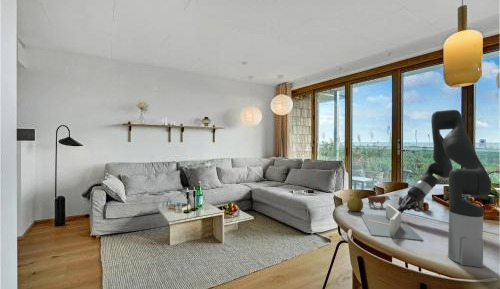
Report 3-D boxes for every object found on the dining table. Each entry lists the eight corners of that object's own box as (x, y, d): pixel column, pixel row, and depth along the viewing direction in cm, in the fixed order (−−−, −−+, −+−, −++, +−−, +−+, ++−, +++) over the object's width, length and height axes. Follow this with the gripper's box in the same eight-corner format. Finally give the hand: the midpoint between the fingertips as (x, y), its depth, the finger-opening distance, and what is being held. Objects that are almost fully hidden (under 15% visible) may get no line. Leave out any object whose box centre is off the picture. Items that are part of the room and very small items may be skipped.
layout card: (423, 241, 104) (423, 239, 104) (371, 235, 110) (371, 234, 110) (400, 217, 135) (400, 217, 135) (360, 214, 140) (360, 213, 140)
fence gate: (399, 225, 121) (399, 211, 121) (395, 224, 121) (395, 211, 121) (389, 216, 135) (389, 204, 135) (385, 216, 135) (385, 203, 135)
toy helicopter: (413, 210, 149) (414, 188, 149) (405, 202, 169) (405, 182, 168) (429, 211, 146) (430, 189, 146) (419, 203, 166) (419, 183, 165)
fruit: (344, 209, 150) (344, 190, 150) (355, 208, 153) (355, 189, 153) (354, 213, 142) (354, 193, 142) (366, 212, 145) (366, 192, 145)
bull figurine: (391, 208, 153) (391, 195, 153) (368, 207, 156) (368, 194, 156) (388, 206, 157) (388, 194, 157) (366, 205, 160) (366, 193, 160)
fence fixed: (396, 226, 121) (396, 211, 121) (401, 227, 120) (401, 212, 120) (389, 236, 109) (389, 219, 109) (394, 237, 108) (394, 220, 108)
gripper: (406, 183, 138) (385, 205, 137) (424, 188, 125) (401, 212, 124) (415, 192, 138) (394, 214, 138) (434, 198, 125) (410, 222, 124)
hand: (397, 213), depth 131 cm, fingers closed
